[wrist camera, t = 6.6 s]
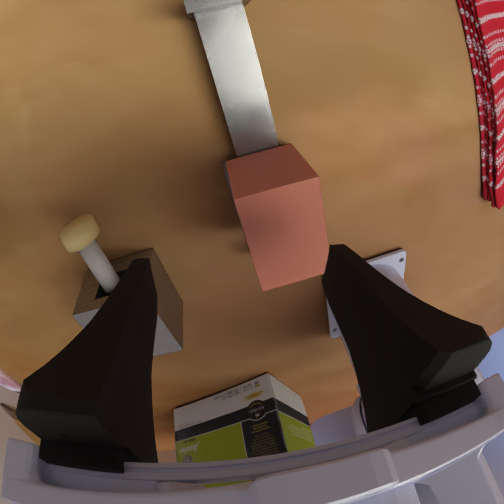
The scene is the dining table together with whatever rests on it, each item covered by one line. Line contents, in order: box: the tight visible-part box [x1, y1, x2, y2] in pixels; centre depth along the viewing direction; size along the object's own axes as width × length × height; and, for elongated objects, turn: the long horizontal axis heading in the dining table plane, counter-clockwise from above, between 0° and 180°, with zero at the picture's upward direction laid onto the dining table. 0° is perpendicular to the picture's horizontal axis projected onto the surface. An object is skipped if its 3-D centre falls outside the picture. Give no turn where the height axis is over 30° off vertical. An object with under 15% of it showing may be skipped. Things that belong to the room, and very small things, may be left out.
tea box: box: [173, 373, 316, 488], centre depth 33 cm, size 15×10×15 cm
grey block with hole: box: [72, 248, 183, 356], centre depth 22 cm, size 6×6×5 cm
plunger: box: [59, 214, 120, 293], centre depth 19 cm, size 5×3×3 cm, turn 14°
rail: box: [183, 0, 279, 158], centre depth 17 cm, size 18×3×3 cm, turn 14°
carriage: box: [223, 144, 329, 291], centre depth 18 cm, size 6×4×6 cm
